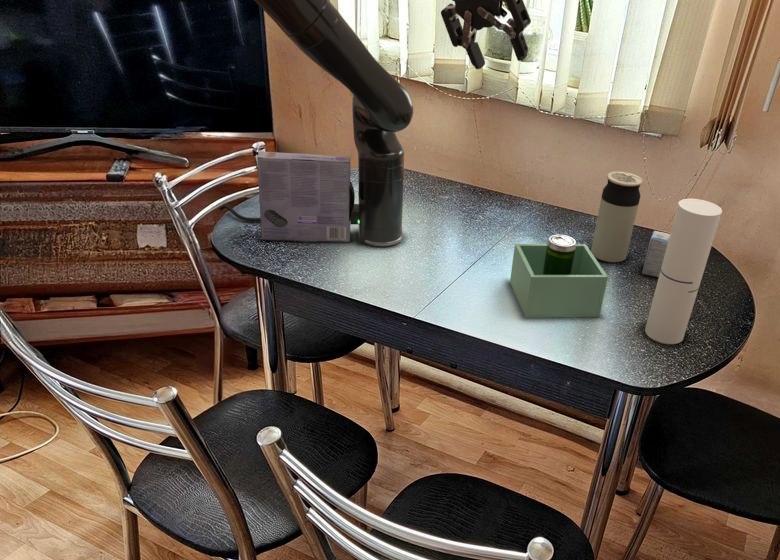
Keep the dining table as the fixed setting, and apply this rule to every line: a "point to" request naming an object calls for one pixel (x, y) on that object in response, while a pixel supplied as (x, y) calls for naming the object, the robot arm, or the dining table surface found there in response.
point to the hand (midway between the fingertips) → (501, 62)
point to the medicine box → (655, 253)
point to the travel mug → (616, 216)
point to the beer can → (559, 255)
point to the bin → (557, 284)
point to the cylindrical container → (682, 269)
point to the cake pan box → (305, 197)
